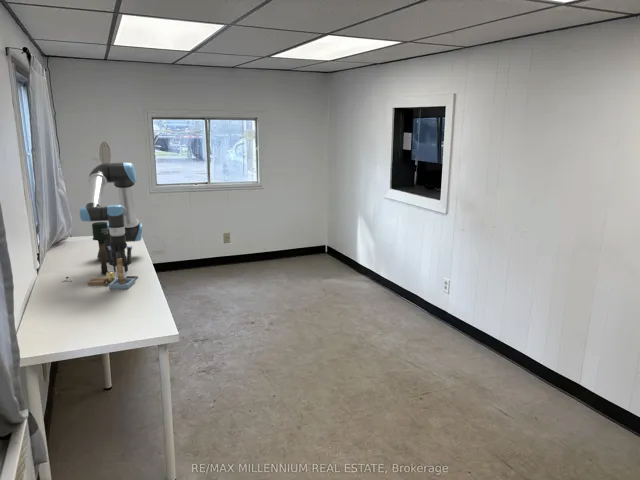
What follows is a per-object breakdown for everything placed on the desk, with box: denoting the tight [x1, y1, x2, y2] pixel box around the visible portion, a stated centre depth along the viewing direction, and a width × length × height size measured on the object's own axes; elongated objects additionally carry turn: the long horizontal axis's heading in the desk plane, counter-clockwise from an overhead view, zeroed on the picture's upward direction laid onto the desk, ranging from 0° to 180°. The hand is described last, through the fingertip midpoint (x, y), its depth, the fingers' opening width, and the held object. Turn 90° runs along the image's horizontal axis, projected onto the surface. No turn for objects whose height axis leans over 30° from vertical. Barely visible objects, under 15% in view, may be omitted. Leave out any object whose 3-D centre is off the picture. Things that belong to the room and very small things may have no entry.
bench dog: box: [105, 270, 116, 285], centre depth 259 cm, size 4×4×6 cm
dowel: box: [116, 258, 126, 284], centre depth 253 cm, size 4×4×14 cm
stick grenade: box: [91, 221, 109, 276], centre depth 271 cm, size 8×9×30 cm
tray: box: [108, 278, 136, 290], centre depth 255 cm, size 10×10×2 cm
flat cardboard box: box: [87, 276, 107, 287], centre depth 259 cm, size 8×8×2 cm
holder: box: [126, 275, 139, 281], centre depth 265 cm, size 7×7×1 cm
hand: (121, 277), depth 254 cm, fingers closed on dowel, 3 cm apart
